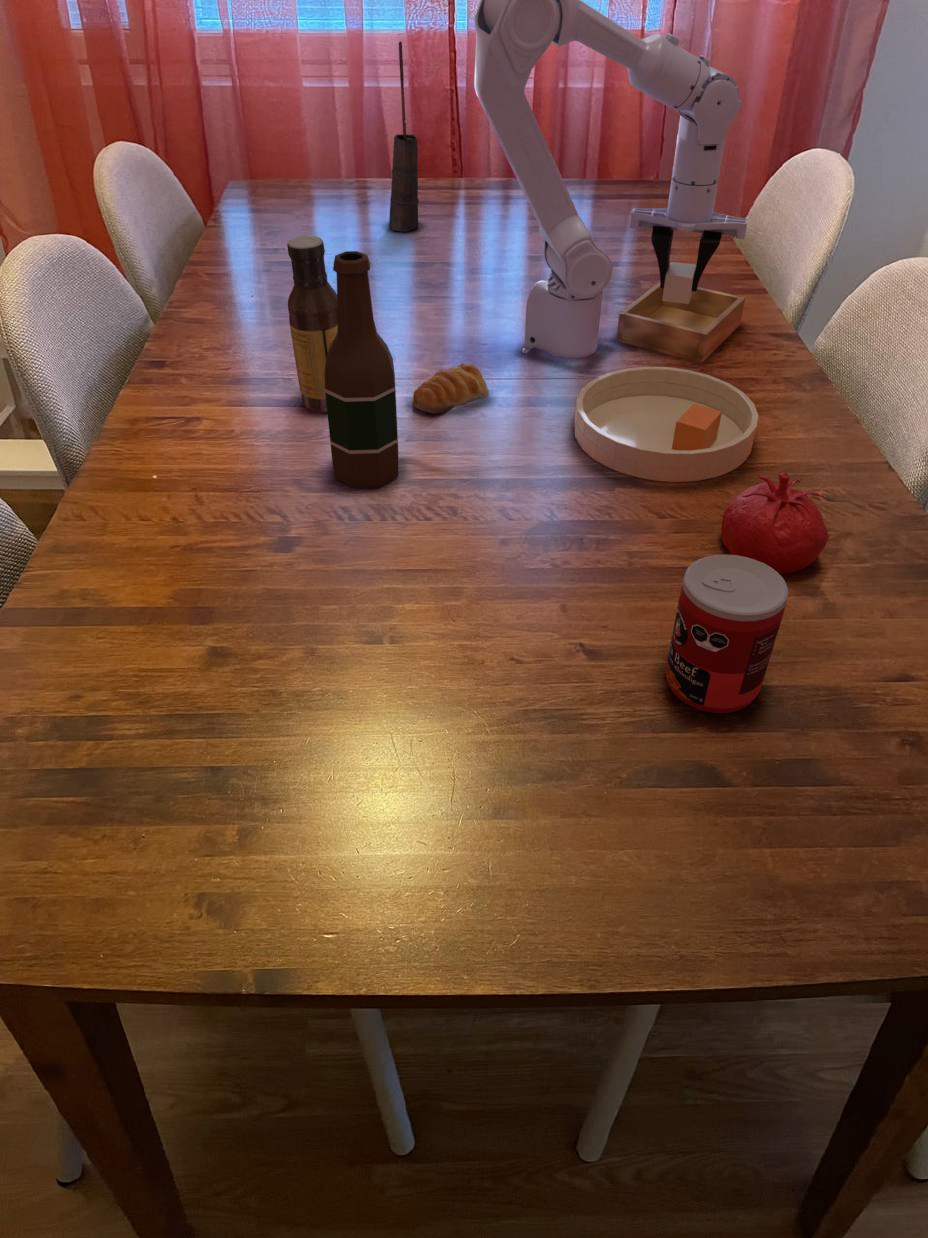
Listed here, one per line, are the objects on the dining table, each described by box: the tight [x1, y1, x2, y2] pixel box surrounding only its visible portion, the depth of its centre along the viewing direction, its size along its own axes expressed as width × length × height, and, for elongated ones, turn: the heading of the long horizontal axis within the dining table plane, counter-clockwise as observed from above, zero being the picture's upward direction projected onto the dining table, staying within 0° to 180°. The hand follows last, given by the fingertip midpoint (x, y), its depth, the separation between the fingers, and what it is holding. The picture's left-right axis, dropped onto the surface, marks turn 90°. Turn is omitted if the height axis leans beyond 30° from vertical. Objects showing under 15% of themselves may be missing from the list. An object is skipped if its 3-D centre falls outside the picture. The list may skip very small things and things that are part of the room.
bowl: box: [573, 366, 760, 483], centre depth 110 cm, size 20×20×4 cm
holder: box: [615, 281, 746, 364], centre depth 132 cm, size 13×15×4 cm
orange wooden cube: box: [672, 404, 722, 451], centre depth 108 cm, size 4×5×4 cm
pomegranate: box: [720, 471, 830, 575], centre depth 91 cm, size 10×10×9 cm
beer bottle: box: [325, 250, 399, 489], centre depth 98 cm, size 8×8×24 cm
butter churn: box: [388, 40, 420, 233], centre depth 156 cm, size 9×10×28 cm
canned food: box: [665, 554, 789, 714], centre depth 77 cm, size 8×8×11 cm
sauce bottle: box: [286, 235, 338, 414], centre depth 111 cm, size 6×6×20 cm
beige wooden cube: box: [662, 261, 697, 304], centre depth 126 cm, size 4×5×4 cm
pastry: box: [412, 362, 489, 415], centre depth 117 cm, size 9×7×4 cm
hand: (678, 286), depth 126 cm, fingers closed on beige wooden cube, 3 cm apart
